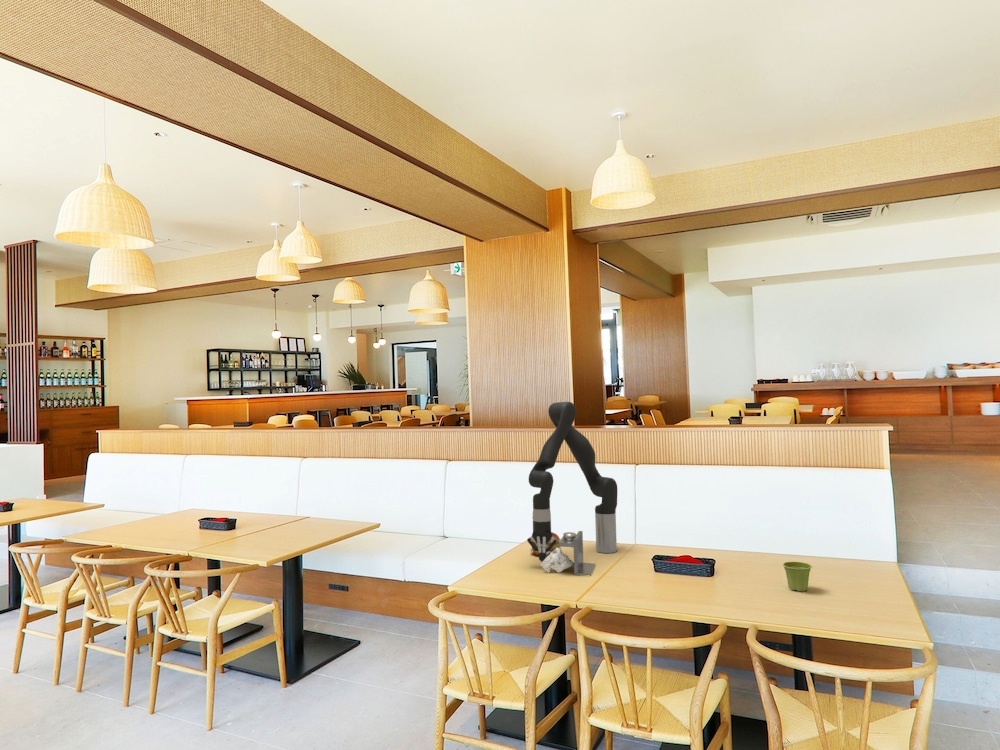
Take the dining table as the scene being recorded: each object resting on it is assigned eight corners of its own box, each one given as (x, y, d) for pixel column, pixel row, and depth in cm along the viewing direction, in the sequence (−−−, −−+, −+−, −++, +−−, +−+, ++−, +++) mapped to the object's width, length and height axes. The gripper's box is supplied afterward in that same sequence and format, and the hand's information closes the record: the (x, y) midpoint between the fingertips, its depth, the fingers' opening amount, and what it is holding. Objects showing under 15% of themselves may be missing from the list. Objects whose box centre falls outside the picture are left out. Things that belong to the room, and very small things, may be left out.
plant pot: (816, 593, 224) (815, 568, 225) (787, 593, 226) (786, 568, 226) (808, 585, 233) (807, 561, 234) (780, 585, 235) (779, 561, 235)
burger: (561, 558, 281) (560, 535, 282) (530, 558, 282) (529, 535, 282) (560, 550, 295) (559, 528, 295) (530, 550, 295) (530, 528, 296)
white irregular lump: (571, 567, 254) (553, 549, 257) (556, 582, 256) (539, 564, 258) (578, 560, 265) (561, 543, 268) (564, 574, 267) (547, 557, 270)
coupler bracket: (565, 563, 271) (564, 529, 271) (595, 565, 268) (594, 530, 268) (559, 574, 256) (558, 537, 256) (590, 576, 252) (589, 538, 253)
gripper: (559, 517, 269) (560, 559, 268) (528, 517, 272) (529, 558, 272) (556, 521, 262) (557, 564, 261) (524, 520, 265) (525, 563, 264)
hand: (542, 561), depth 266 cm, fingers closed
